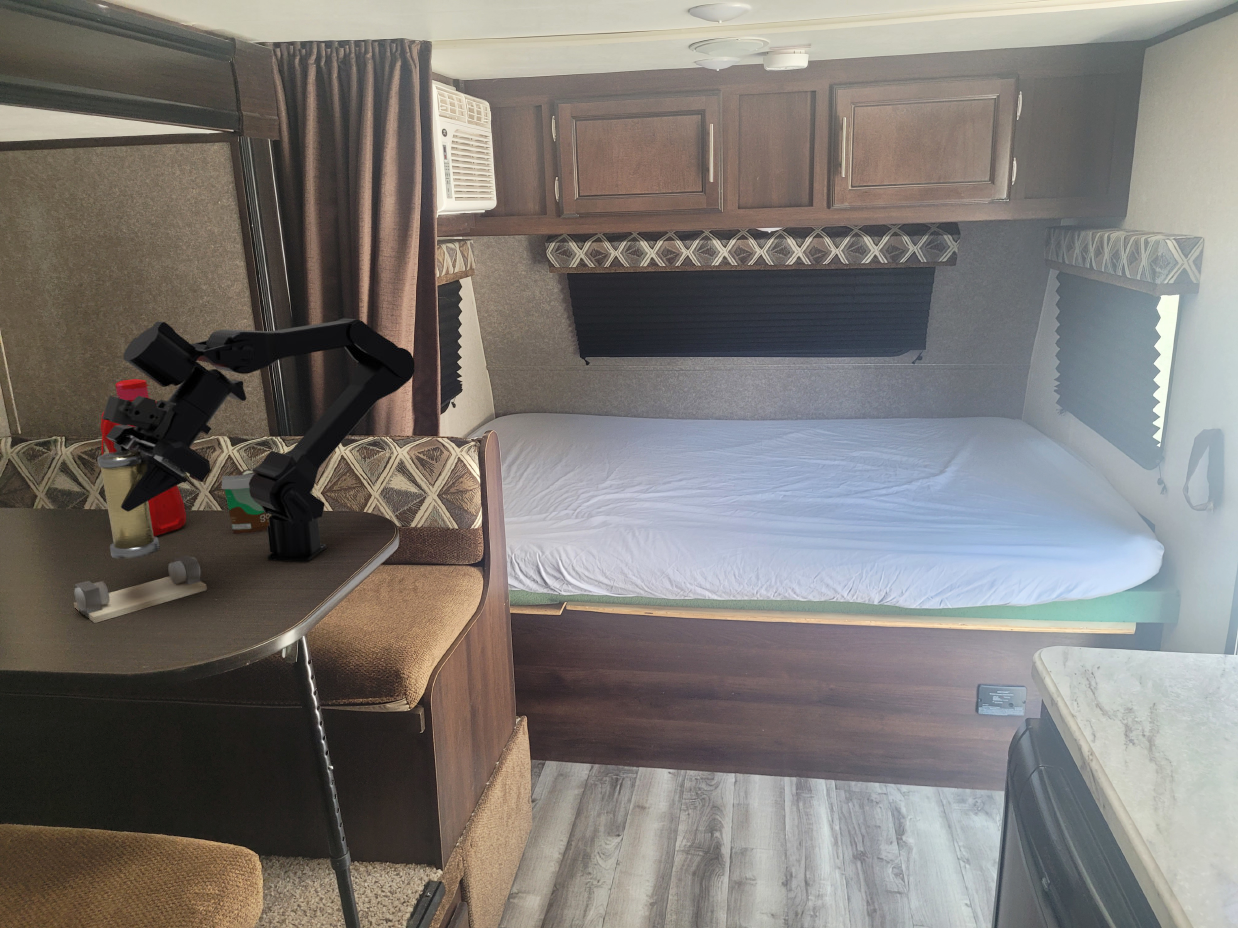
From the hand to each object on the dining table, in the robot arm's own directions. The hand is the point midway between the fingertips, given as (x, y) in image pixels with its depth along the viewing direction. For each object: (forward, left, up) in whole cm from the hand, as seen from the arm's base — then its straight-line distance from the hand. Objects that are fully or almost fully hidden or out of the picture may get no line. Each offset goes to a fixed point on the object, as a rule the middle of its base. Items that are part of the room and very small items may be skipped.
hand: (116, 506), depth 112 cm
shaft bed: (-1, -1, -13) cm, 13 cm away
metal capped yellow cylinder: (-1, -1, -7) cm, 7 cm away
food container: (-1, -33, -13) cm, 35 cm away
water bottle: (+17, -28, -13) cm, 35 cm away
